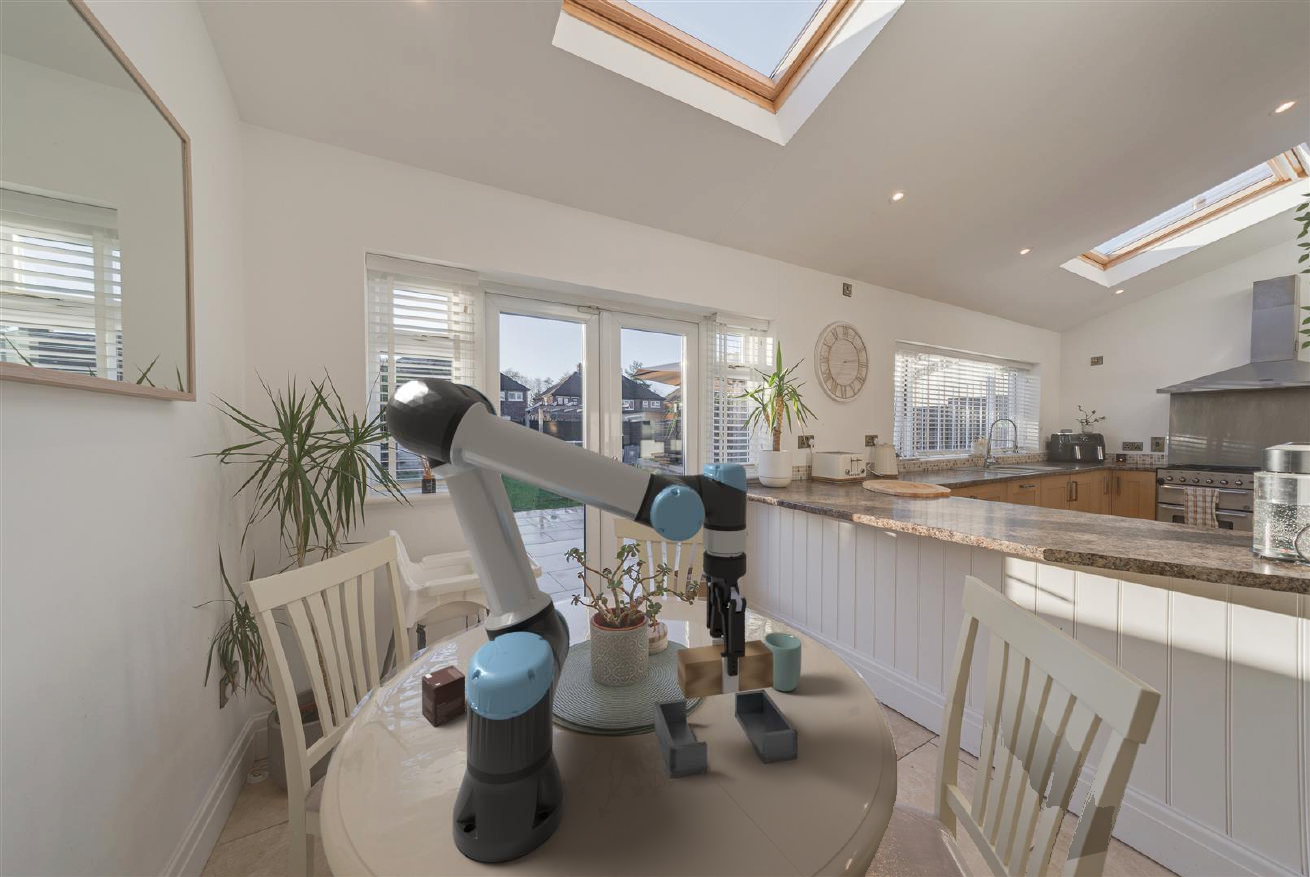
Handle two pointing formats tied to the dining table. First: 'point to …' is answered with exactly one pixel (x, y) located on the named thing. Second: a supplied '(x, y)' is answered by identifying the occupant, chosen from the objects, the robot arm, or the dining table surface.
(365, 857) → the dining table surface
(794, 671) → the cup
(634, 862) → the dining table surface
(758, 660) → the wooden block
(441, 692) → the box
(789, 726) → the bracket right
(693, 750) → the bracket left
